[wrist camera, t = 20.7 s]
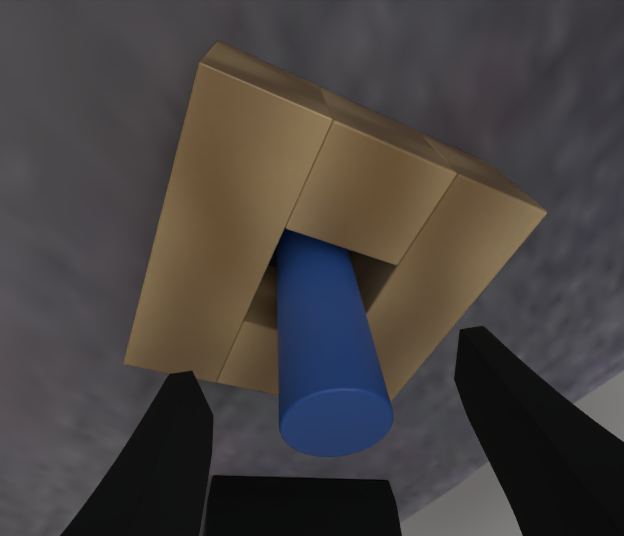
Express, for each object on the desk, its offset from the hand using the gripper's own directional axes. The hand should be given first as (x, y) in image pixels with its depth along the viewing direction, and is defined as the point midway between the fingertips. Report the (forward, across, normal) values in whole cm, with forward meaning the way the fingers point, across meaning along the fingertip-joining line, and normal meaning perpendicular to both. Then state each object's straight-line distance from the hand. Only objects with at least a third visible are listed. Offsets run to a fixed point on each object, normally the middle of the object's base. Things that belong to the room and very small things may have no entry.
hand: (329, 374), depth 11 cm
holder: (+7, 0, 0) cm, 7 cm away
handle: (+7, 0, 0) cm, 7 cm away
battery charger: (+8, +5, +24) cm, 26 cm away
